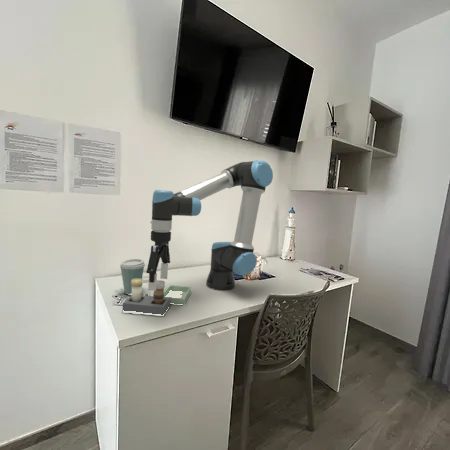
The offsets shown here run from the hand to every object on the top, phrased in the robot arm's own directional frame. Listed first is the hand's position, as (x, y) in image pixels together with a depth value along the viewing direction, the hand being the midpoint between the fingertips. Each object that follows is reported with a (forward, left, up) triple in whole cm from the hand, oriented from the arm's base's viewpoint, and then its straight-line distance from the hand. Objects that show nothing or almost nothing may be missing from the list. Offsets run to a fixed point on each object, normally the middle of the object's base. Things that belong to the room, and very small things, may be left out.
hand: (158, 284), depth 103 cm
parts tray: (-4, -14, -11) cm, 19 cm away
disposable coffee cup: (+17, -15, -12) cm, 26 cm away
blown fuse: (0, 0, -11) cm, 11 cm away
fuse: (+9, 0, -11) cm, 14 cm away
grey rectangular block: (+4, 0, -11) cm, 12 cm away
